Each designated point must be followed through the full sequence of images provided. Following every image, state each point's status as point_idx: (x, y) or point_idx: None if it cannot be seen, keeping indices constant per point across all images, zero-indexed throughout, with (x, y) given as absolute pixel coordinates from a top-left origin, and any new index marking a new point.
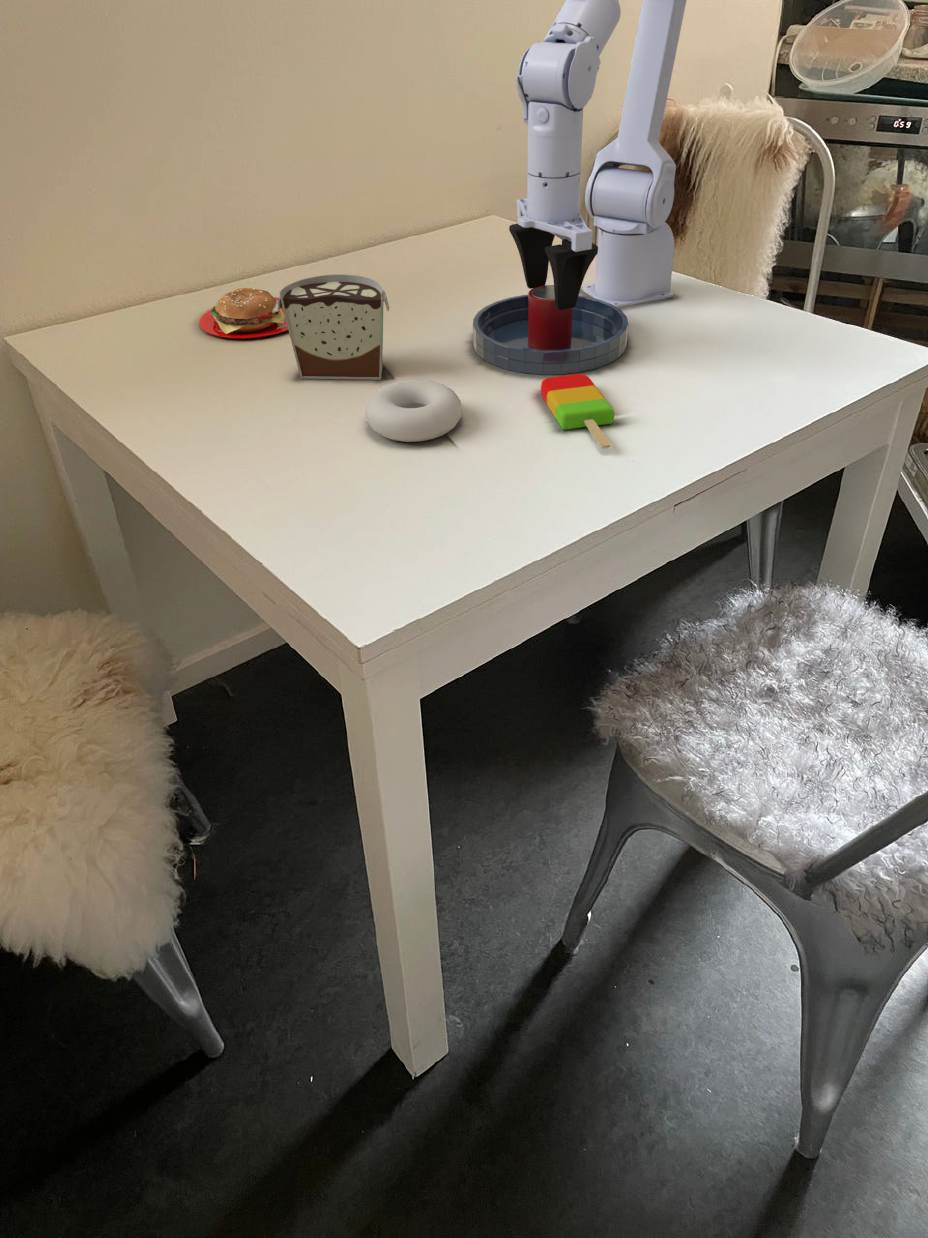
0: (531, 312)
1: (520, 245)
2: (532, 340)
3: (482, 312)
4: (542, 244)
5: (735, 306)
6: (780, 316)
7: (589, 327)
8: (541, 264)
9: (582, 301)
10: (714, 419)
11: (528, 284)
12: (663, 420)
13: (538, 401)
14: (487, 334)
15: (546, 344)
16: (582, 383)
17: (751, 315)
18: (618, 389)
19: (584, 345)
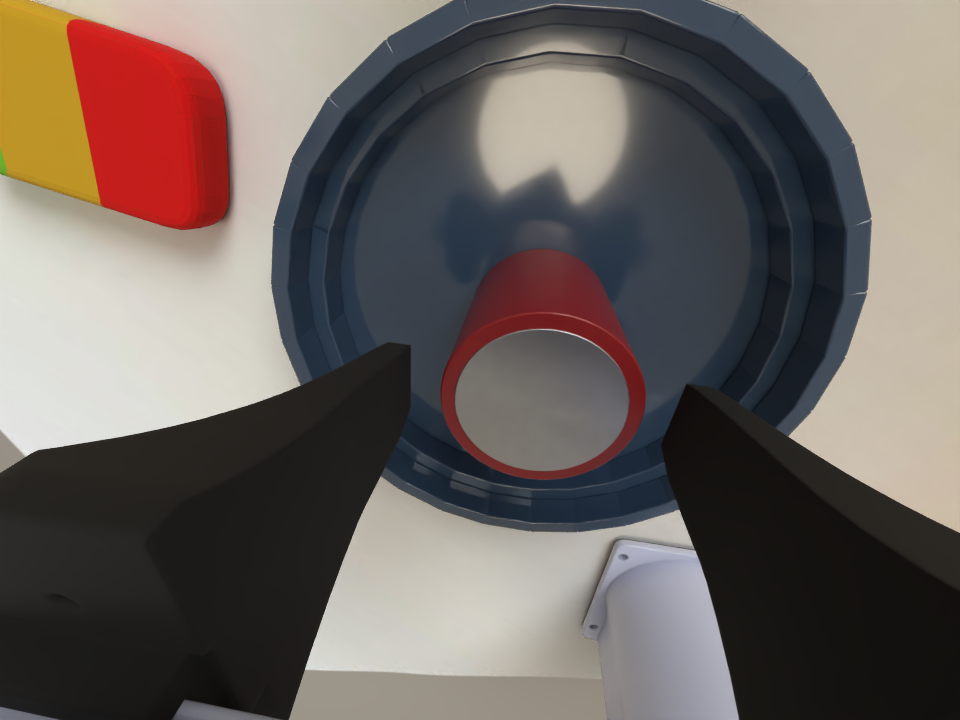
0: (544, 285)
1: (883, 536)
2: (535, 255)
3: (828, 163)
4: (759, 629)
5: (482, 650)
6: (410, 656)
7: None
8: (705, 510)
9: (627, 504)
10: (41, 364)
11: (696, 389)
12: (35, 281)
13: (172, 29)
14: (751, 173)
15: (486, 278)
16: (118, 177)
17: (436, 641)
18: (207, 295)
19: None
